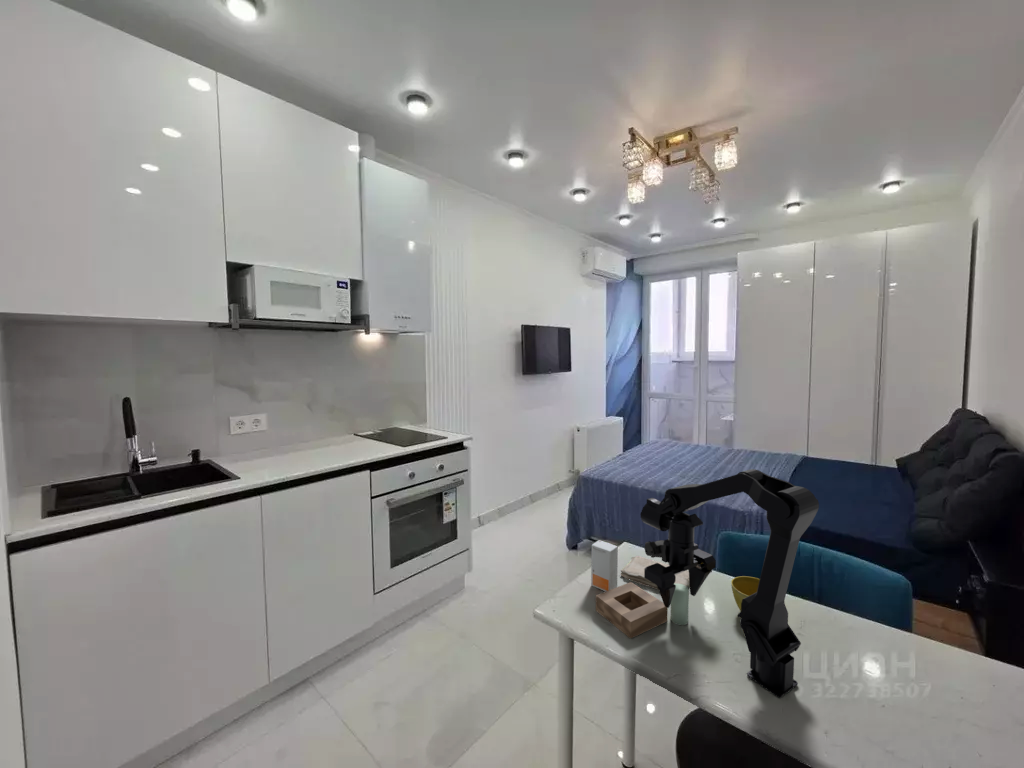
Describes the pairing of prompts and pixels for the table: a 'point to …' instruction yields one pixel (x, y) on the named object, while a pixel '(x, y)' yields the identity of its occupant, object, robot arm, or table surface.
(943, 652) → the table surface
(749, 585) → the yellow bowl
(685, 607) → the sage peg
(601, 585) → the skincare box
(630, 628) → the walnut socket
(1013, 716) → the table surface
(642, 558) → the washcloth
